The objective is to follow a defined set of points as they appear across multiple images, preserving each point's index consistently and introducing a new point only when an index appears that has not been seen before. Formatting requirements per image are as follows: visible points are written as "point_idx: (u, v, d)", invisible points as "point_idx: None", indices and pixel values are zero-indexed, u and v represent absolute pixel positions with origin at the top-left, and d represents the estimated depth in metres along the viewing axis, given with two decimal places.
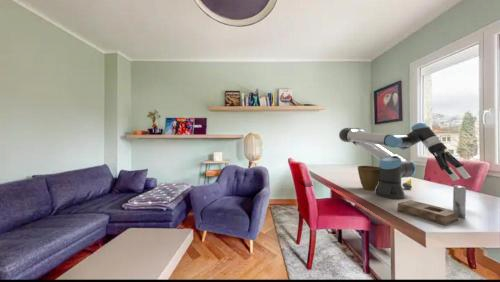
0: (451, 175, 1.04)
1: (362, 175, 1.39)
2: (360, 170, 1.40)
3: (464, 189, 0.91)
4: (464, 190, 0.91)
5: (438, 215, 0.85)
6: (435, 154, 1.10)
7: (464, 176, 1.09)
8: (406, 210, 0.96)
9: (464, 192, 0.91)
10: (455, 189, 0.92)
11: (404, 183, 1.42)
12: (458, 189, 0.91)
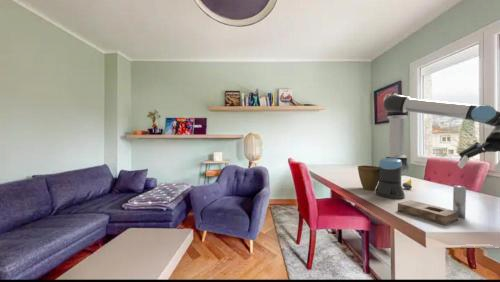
0: None
1: (362, 175, 1.39)
2: (360, 170, 1.40)
3: (464, 189, 0.91)
4: (464, 190, 0.91)
5: (438, 215, 0.85)
6: None
7: (461, 164, 1.01)
8: (406, 210, 0.96)
9: (464, 192, 0.91)
10: (455, 189, 0.92)
11: (404, 183, 1.42)
12: (458, 189, 0.91)
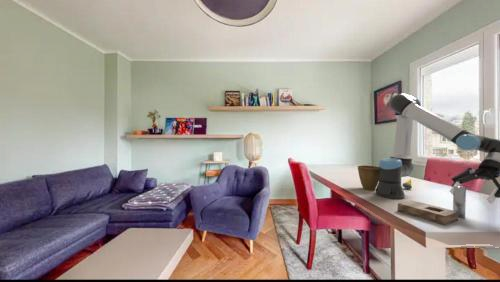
0: (493, 196, 0.85)
1: (362, 175, 1.39)
2: (360, 170, 1.39)
3: (464, 189, 0.91)
4: (464, 190, 0.91)
5: (438, 215, 0.85)
6: None
7: None
8: (406, 210, 0.96)
9: (464, 192, 0.91)
10: (455, 189, 0.92)
11: (404, 183, 1.42)
12: (458, 189, 0.91)
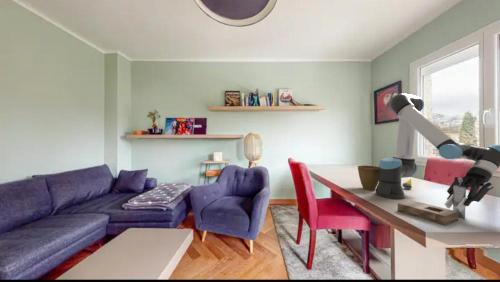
0: (462, 205, 0.90)
1: (362, 175, 1.38)
2: (360, 170, 1.39)
3: (464, 189, 0.91)
4: (464, 190, 0.91)
5: (438, 215, 0.85)
6: (490, 186, 0.87)
7: (448, 203, 0.94)
8: (406, 210, 0.96)
9: (464, 192, 0.91)
10: (455, 189, 0.92)
11: (404, 183, 1.42)
12: (458, 189, 0.91)
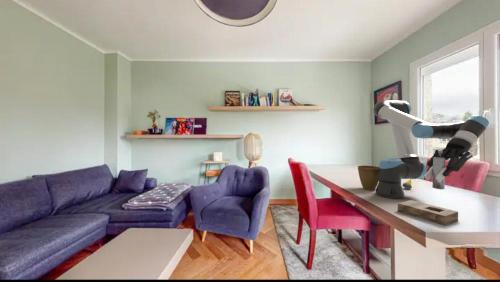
0: (441, 175, 0.87)
1: (362, 175, 1.38)
2: (360, 170, 1.39)
3: (443, 159, 0.88)
4: (443, 160, 0.88)
5: (438, 215, 0.85)
6: (469, 155, 0.85)
7: (428, 175, 0.91)
8: (406, 210, 0.96)
9: (443, 162, 0.88)
10: (434, 160, 0.90)
11: (404, 183, 1.42)
12: (437, 160, 0.89)
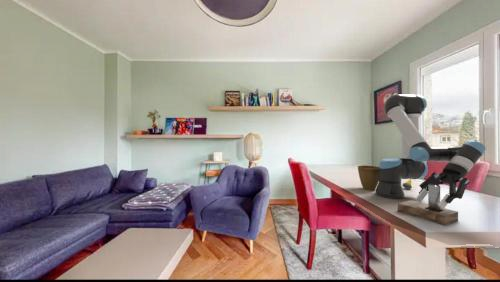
0: (444, 202, 0.85)
1: (362, 175, 1.38)
2: (360, 170, 1.39)
3: (438, 188, 0.89)
4: (438, 189, 0.89)
5: (438, 215, 0.85)
6: (466, 181, 0.85)
7: (419, 197, 0.94)
8: (406, 210, 0.96)
9: (438, 190, 0.89)
10: (429, 188, 0.91)
11: (404, 183, 1.42)
12: (432, 188, 0.90)
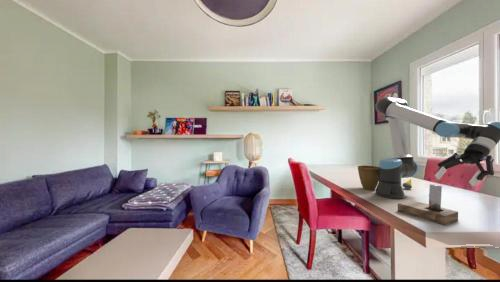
0: (475, 179, 0.85)
1: (362, 175, 1.38)
2: (360, 170, 1.39)
3: (440, 188, 0.88)
4: (439, 189, 0.88)
5: (438, 215, 0.85)
6: (491, 158, 0.87)
7: (438, 175, 0.98)
8: (406, 210, 0.96)
9: (440, 190, 0.88)
10: (431, 188, 0.90)
11: (404, 183, 1.42)
12: (433, 188, 0.89)
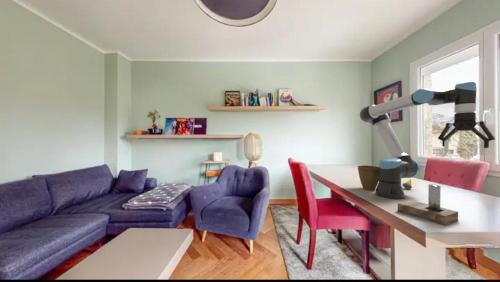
0: (484, 149, 0.96)
1: (362, 175, 1.38)
2: (360, 170, 1.39)
3: (438, 188, 0.89)
4: (438, 189, 0.89)
5: (438, 215, 0.85)
6: (484, 123, 0.96)
7: (446, 150, 1.08)
8: (406, 210, 0.96)
9: (439, 190, 0.89)
10: (430, 188, 0.91)
11: (404, 183, 1.42)
12: (432, 188, 0.90)
